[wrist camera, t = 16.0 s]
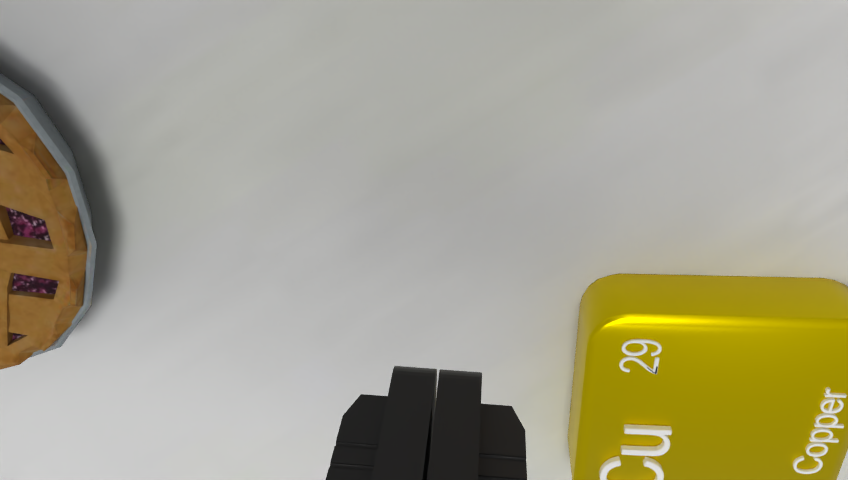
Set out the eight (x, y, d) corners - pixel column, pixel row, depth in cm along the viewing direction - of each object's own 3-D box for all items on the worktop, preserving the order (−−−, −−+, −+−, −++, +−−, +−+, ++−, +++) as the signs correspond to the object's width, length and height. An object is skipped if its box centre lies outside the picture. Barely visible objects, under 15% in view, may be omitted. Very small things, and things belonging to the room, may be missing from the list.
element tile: (797, 466, 46) (826, 529, 42) (565, 455, 48) (570, 515, 44) (860, 274, 39) (903, 328, 35) (582, 268, 40) (591, 319, 36)
